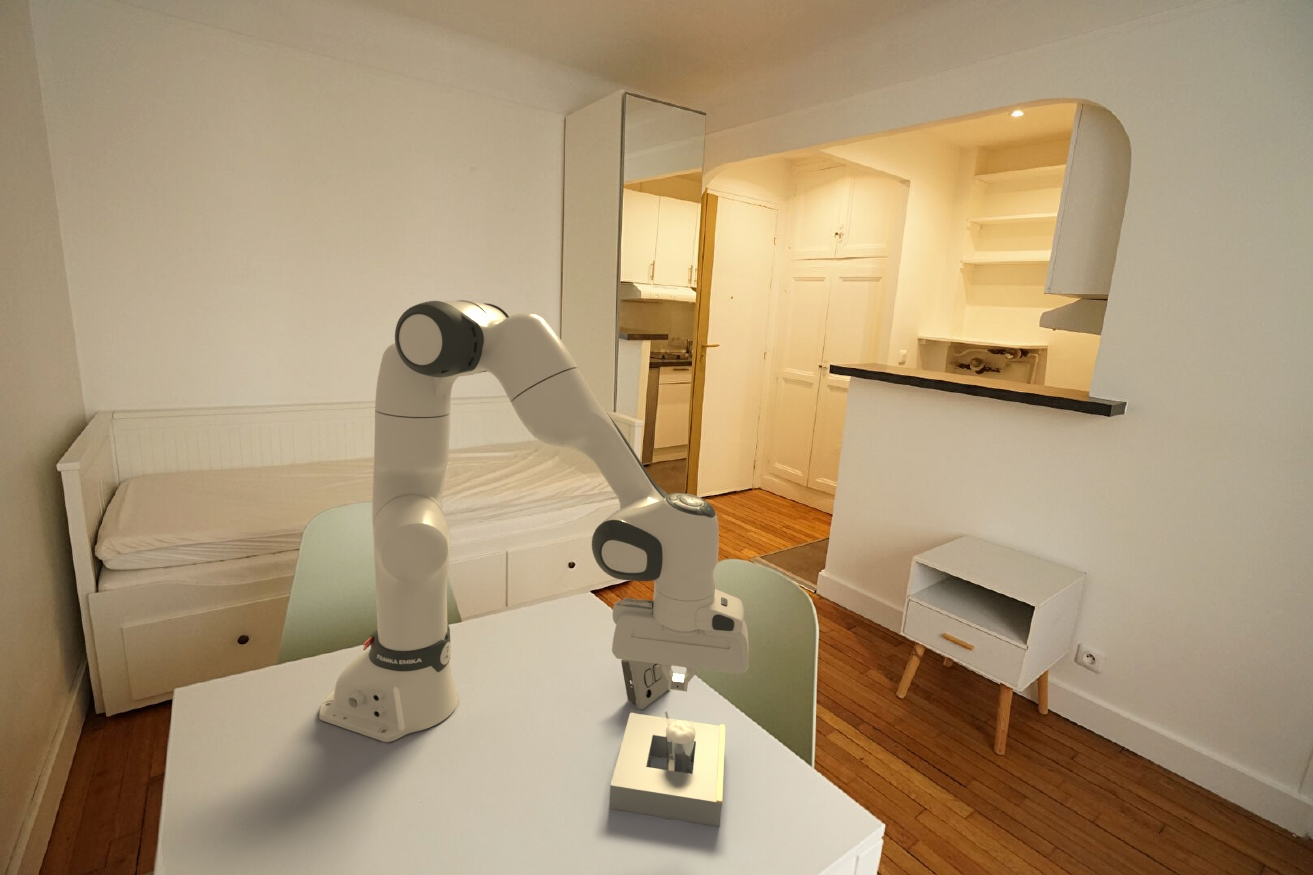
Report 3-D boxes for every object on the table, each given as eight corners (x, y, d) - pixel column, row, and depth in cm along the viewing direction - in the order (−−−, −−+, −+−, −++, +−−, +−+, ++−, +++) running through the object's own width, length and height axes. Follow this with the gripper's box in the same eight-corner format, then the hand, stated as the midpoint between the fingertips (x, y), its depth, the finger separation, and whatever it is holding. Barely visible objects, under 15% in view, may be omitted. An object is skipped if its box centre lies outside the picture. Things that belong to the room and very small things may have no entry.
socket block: (609, 808, 89) (610, 783, 88) (628, 733, 104) (630, 711, 103) (719, 826, 87) (722, 800, 86) (723, 747, 102) (725, 724, 101)
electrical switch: (640, 712, 110) (639, 664, 108) (619, 702, 113) (617, 655, 111) (672, 688, 117) (671, 643, 115) (651, 679, 120) (650, 635, 119)
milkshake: (670, 758, 99) (674, 704, 97) (697, 776, 96) (702, 720, 93) (652, 774, 96) (656, 718, 93) (679, 792, 92) (684, 735, 90)
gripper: (608, 607, 87) (605, 692, 90) (753, 623, 85) (745, 710, 88) (617, 586, 93) (614, 667, 96) (752, 601, 91) (744, 683, 94)
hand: (677, 688), depth 92 cm, fingers closed
